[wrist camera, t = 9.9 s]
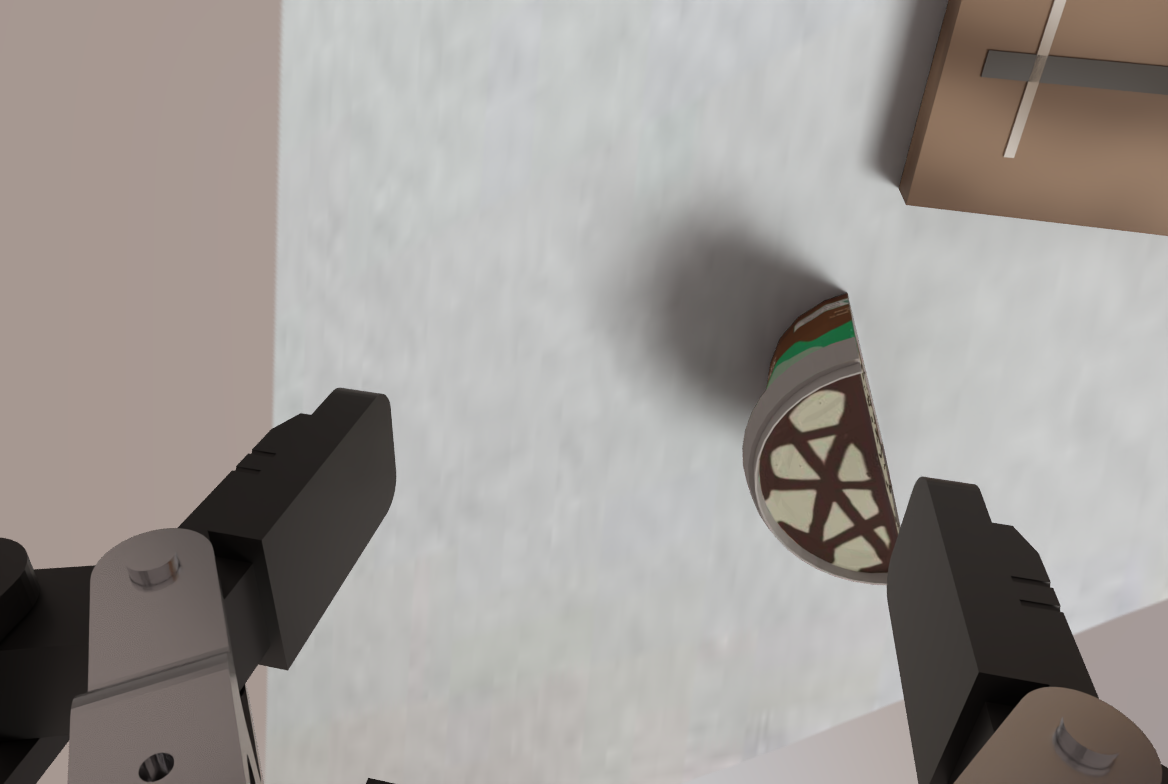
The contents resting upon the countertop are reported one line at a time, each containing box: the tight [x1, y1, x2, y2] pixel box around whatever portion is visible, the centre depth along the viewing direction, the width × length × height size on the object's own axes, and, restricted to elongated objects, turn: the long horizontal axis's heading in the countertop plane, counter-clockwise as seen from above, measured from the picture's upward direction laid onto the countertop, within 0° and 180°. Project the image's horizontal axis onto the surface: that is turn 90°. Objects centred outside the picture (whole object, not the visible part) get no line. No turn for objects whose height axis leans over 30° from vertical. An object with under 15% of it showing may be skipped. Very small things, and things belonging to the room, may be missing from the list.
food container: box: [742, 293, 900, 585], centre depth 40 cm, size 12×6×10 cm, turn 21°
